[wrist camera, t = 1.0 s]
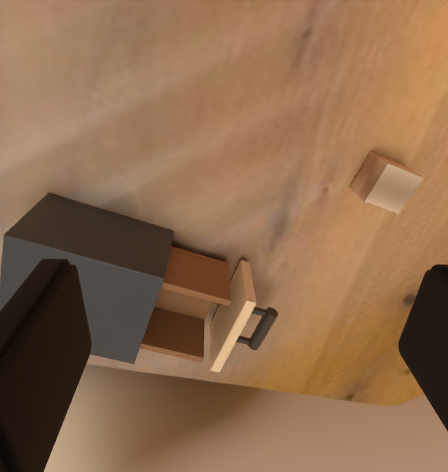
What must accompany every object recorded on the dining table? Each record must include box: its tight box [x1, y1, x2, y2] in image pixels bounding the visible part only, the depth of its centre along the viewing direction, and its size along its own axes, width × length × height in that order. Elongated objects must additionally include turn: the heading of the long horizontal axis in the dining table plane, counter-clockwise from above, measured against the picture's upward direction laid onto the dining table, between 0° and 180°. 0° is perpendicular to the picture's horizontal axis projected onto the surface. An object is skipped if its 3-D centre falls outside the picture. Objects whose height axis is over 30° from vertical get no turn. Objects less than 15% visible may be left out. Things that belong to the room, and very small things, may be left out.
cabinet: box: [0, 193, 174, 364], centre depth 39 cm, size 15×13×10 cm
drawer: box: [140, 246, 278, 372], centre depth 42 cm, size 18×12×8 cm, turn 69°
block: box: [350, 152, 424, 214], centre depth 37 cm, size 4×4×4 cm
